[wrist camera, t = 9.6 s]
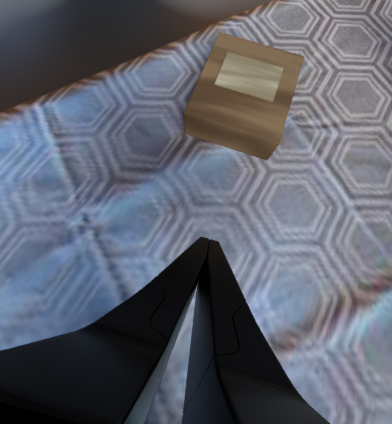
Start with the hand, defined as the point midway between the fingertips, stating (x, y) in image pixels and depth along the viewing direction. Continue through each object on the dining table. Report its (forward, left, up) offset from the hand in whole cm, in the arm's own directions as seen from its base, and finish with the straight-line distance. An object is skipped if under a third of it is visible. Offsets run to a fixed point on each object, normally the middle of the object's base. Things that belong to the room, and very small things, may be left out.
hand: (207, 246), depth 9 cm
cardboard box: (+4, -13, -12) cm, 19 cm away
